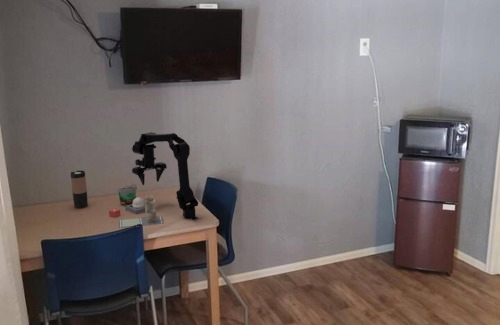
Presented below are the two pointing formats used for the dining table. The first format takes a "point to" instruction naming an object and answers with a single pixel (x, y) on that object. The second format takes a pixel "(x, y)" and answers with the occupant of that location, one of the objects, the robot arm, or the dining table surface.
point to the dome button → (138, 203)
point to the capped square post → (150, 209)
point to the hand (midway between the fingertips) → (150, 183)
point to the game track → (139, 222)
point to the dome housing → (133, 210)
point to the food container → (127, 194)
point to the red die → (114, 213)
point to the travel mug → (79, 189)
